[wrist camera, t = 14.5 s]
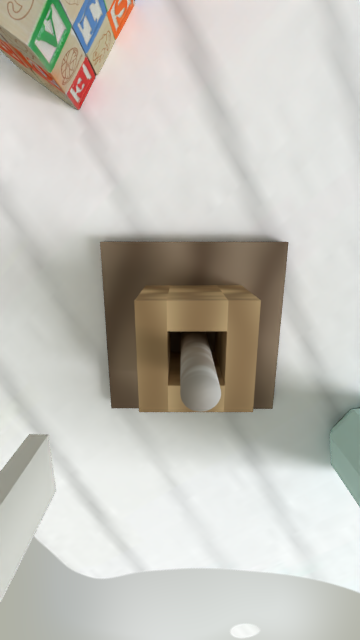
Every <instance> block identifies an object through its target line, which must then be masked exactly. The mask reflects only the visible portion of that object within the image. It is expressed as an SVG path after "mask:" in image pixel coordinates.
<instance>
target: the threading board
mask: <svg viewBox="0 0 360 640" xmlns="http://www.w3.org/2000/svg"><path fill="white" fill-rule="evenodd" d="M100 246H101V261H102V276H103V290H104V305H105V320H106V334H107V349H108V363H109V378H110V393H111V407H112V408H139V395H138V373H137V350H136V328H135V305H134V300H135V299H136V298H137V296H138V295H139V294H140V292H141V291H142V290H143V288H144V287H145V286H146V285H242V286H243V287H244V288H246V289H247V290H248V291H249V292H251V293H252V294H253V295H255V296H256V297H257V298H258V299H260V300H261V306H260V320H259V334H258V348H257V362H256V376H255V390H254V403H253V409H272V408H273V398H274V387H275V377H276V366H277V356H278V345H279V335H280V324H281V314H282V303H283V293H284V282H285V272H286V261H287V251H288V242H100ZM215 334H216V331H171V352H181V370H180V396H181V400H182V402H183V403H184V405H185V406H186V407H188V408H189V409H191V410H193V411H198V412H203V411H208V410H210V409H212V408H213V407H215V406H216V405H217V403H218V402H219V400H220V397H221V389H220V385H219V381H218V377H217V373H216V370H215V366H214V362H213V358H212V354H211V352H215Z"/></svg>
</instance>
